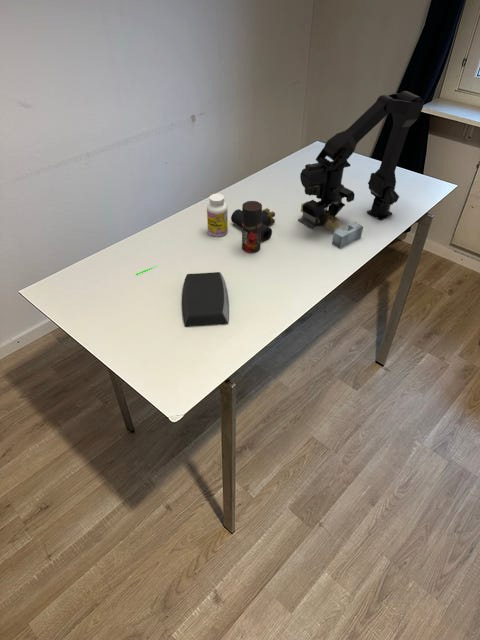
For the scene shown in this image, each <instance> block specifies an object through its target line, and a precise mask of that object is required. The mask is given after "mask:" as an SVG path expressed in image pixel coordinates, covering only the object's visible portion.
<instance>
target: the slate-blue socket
mask: <svg viewBox="0 0 480 640" xmlns="http://www.w3.org/2000/svg"><path fill="white" fill-rule="evenodd" d="M363 229H364V225H361V224H360V223H358V222H357V221H353V222H352V223H350V224H348V226H347V231H345V230H343V229H342V228H340V229H337V230H334V232H333V236H332V242H331V244H332V246H334V247H336V248H338V249H340V250H341V249H342V248H345V247H346V246H349V245H351V244H352V243H355V241H358V240H360V239H361V238H362V233H363Z"/></svg>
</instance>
